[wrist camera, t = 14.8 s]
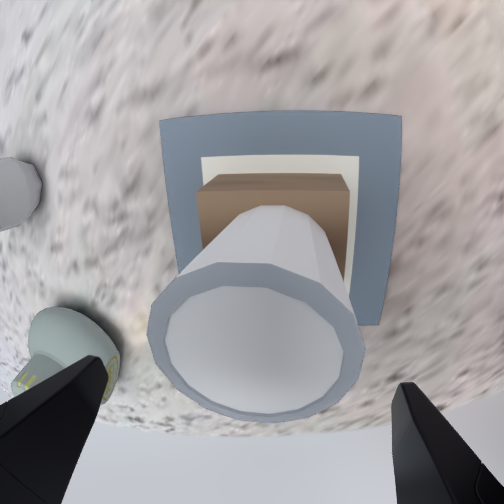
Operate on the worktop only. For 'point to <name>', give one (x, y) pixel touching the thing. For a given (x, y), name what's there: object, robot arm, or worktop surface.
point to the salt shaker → (17, 192)
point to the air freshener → (65, 348)
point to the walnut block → (278, 203)
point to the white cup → (260, 321)
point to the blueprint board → (295, 161)
